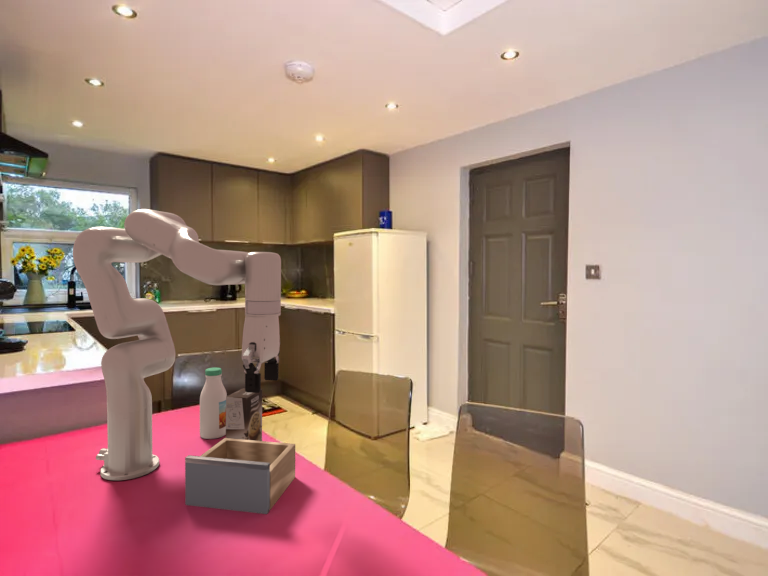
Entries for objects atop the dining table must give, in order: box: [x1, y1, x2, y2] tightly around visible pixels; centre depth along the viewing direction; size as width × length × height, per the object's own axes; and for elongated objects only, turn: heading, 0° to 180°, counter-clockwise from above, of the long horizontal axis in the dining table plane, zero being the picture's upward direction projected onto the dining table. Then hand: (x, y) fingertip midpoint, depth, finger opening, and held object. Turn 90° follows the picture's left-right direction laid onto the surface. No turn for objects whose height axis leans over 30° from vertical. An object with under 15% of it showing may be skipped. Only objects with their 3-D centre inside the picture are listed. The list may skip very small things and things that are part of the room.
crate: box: [200, 437, 296, 511], centre depth 97 cm, size 18×14×9 cm
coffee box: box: [225, 387, 263, 441], centre depth 119 cm, size 9×6×16 cm
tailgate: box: [184, 455, 271, 515], centre depth 89 cm, size 18×1×11 cm, turn 81°
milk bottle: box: [199, 367, 228, 440], centre depth 129 cm, size 8×8×20 cm
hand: (262, 385), depth 95 cm, fingers open, 9 cm apart
